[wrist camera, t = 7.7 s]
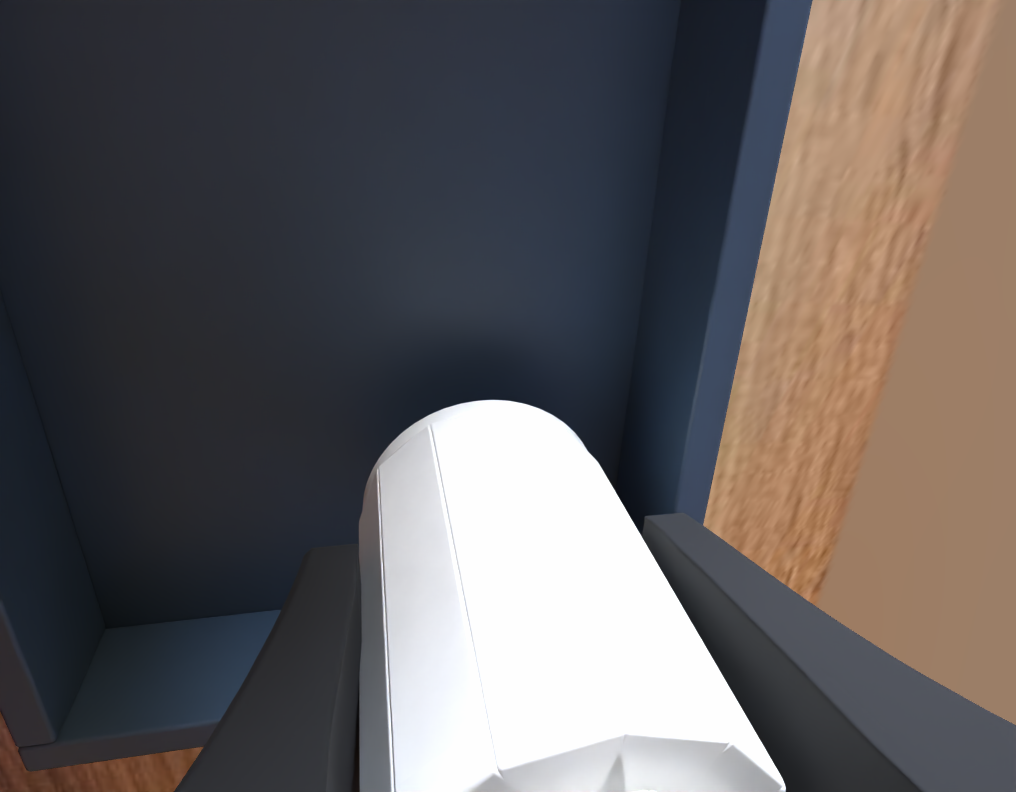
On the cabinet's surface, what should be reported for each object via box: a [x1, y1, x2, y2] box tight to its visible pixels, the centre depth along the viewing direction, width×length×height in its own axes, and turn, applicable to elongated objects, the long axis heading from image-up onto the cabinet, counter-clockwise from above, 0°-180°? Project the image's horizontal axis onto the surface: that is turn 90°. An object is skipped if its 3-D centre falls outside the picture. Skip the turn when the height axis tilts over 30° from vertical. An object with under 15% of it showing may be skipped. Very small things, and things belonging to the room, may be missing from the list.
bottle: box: [359, 400, 786, 792], centre depth 8 cm, size 4×4×8 cm
